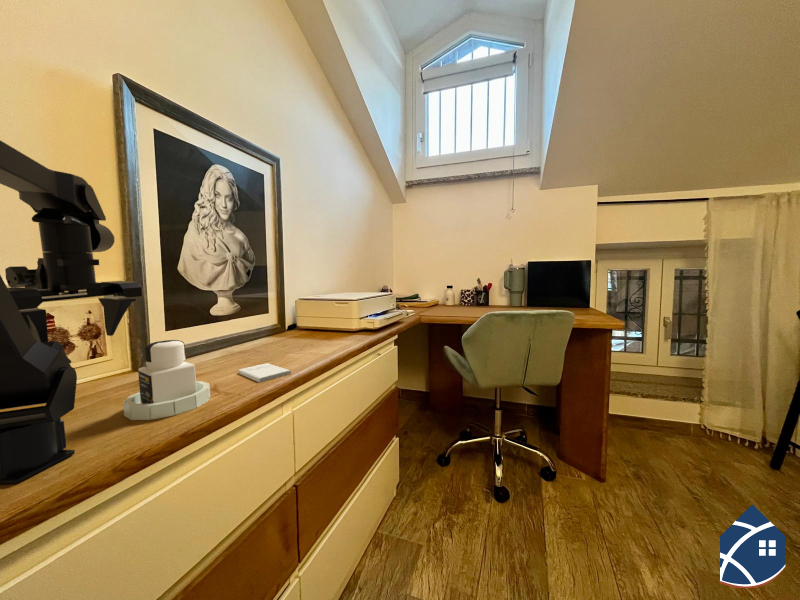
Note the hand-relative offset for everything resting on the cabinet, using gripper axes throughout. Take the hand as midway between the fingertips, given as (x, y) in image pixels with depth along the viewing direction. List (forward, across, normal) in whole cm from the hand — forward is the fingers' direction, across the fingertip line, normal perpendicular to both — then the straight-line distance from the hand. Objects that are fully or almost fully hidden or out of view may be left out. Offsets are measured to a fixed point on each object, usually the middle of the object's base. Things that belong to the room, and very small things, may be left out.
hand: (79, 342), depth 53 cm
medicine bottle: (+13, -7, +11) cm, 18 cm away
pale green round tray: (+13, -7, +11) cm, 18 cm away
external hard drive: (+15, -28, +16) cm, 35 cm away
